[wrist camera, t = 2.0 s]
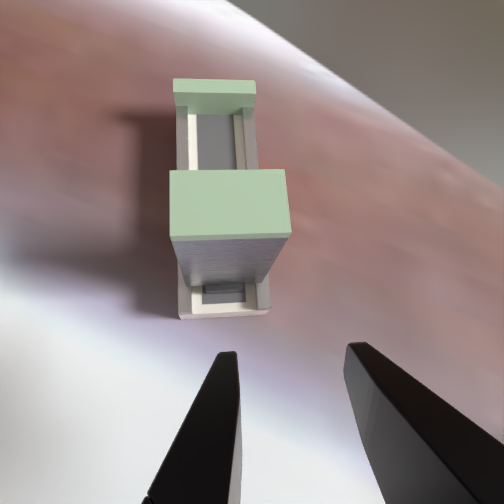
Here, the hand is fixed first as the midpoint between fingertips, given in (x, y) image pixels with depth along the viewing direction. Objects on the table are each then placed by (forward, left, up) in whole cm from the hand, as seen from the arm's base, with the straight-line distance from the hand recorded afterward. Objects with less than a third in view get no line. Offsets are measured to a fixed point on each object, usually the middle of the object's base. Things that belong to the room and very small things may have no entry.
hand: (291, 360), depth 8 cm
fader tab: (+1, +5, -11) cm, 12 cm away
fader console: (+2, +10, -13) cm, 16 cm away
